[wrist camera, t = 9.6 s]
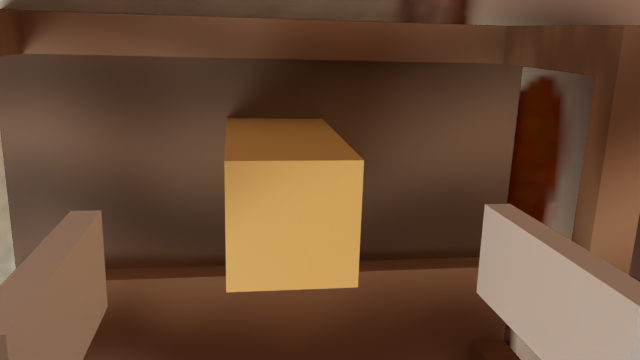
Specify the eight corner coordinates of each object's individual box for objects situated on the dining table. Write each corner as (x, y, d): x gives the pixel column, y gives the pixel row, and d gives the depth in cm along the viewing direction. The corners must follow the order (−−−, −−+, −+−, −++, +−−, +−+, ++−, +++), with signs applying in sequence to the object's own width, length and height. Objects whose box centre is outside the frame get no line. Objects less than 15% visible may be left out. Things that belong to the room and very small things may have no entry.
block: (226, 118, 24) (224, 161, 16) (322, 118, 24) (363, 160, 17) (227, 210, 25) (226, 292, 17) (319, 209, 25) (358, 287, 18)
